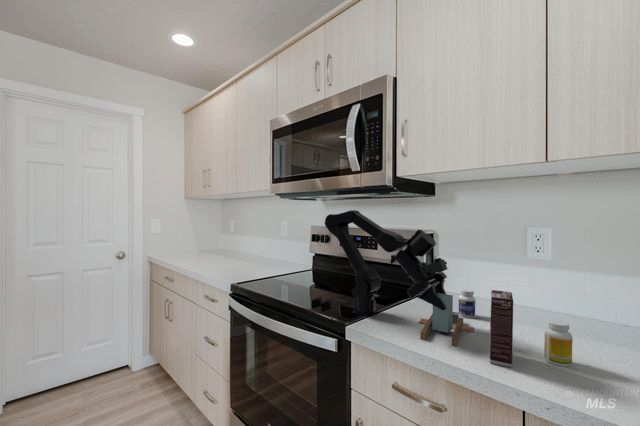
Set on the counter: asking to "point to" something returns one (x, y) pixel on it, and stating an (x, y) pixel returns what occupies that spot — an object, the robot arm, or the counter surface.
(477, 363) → the counter surface
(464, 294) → the pill bottle
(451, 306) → the block
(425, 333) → the guide channel
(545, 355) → the supplement bottle
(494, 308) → the supplement box
